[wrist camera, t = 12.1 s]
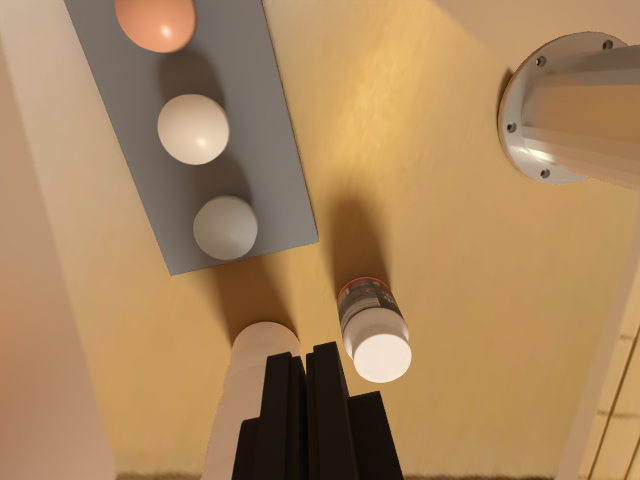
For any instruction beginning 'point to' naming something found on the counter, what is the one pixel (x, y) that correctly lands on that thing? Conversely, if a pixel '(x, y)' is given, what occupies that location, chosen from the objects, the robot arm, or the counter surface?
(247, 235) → the bluegrey button
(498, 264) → the counter surface
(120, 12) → the terracotta button
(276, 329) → the water bottle
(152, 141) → the button panel
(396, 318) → the pill bottle
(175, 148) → the white button
